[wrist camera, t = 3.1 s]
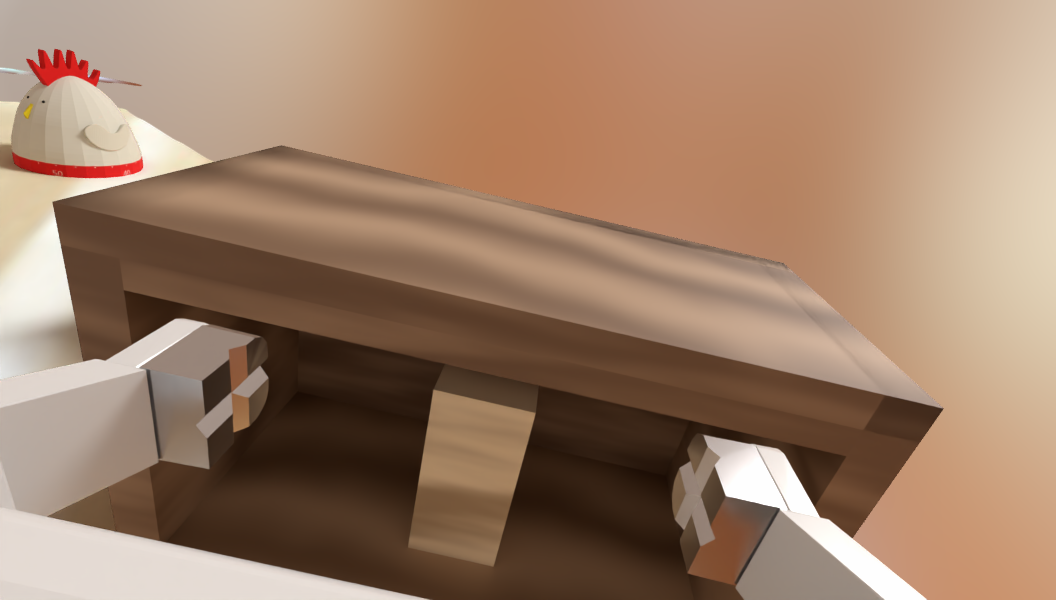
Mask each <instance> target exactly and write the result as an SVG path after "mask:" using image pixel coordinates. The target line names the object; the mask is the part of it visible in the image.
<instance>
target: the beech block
mask: <svg viewBox="0 0 1056 600" xmlns="http://www.w3.org/2000/svg"><path fill="white" fill-rule="evenodd" d="M538 389H539V385H534V384H530V383H526V382H521V381H517V380H513V379H508V378H504V377H500V376H495V375H491V374H486V373H482V372H478V371H473V370H469V369H465V368H460V367H456V366H452V365H447V364H445V365H444V367H443V370H442V372H441V374H440V376H439V379H438V381H437V383H436V385H435V388H434V390H433V396H432V402H431V408H430V415H429V421H428V427H427V433H426V439H425V445H424V451H423V458H422V464H421V470H420V476H419V482H418V488H417V494H416V501H415V507H414V513H413V519H412V525H411V531H410V537H409V544H408V548H412V549H417V550H421V551H426V552H430V553H435V554H439V555H444V556H448V557H452V558H457V559H461V560H466V561H470V562H475V563H479V564H484V565H488V566H492V567H494V563H495V560H496V556H497V552H498V549H499V545H500V541H501V538H502V534H503V530H504V527H505V523H506V520H507V516H508V512H509V509H510V505H511V501H512V498H513V494H514V490H515V487H516V483H517V480H518V476H519V472H520V469H521V465H522V461H523V458H524V454H525V450H526V447H527V443H528V440H529V436H530V432H531V429H532V425H533V421H534V418H535V414H536V407H537V398H538Z"/></svg>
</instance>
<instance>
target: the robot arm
mask: <svg viewBox="0 0 1056 600" xmlns="http://www.w3.org/2000/svg"><path fill="white" fill-rule="evenodd" d="M267 358H268V347H267V342H266V341H265V339H264V338H263V337H261V336H257V335H253V334H248V333H244V332H240V331H236V330H232V329H228V328H224V327H220V326H215V325H209V324H207V323H203V322H198V321H194V320H189V319H174V320H173V321H171V322H169V323H168V324H166V325H164V326H163V327H161V328H159V329H158V330H156V331H154V332H153V333H151V334H149V335H148V336H146V337H144V338H143V339H141V340H139V341H138V342H136V343H134V344H133V345H131V346H129V347H128V348H126V349H124V350H123V351H121V352H119V353H118V354H116V355H114V356H113V357H111V358H109V359H108V360H106V361H104V360H99V359H93V360H89V361H84V362H80V363H75V364H70V365H66V366H61V367H57V368H52V369H47V370H43V371H38V372H34V373H29V374H24V375H20V376H15V377H11V378H6V379H2V380H0V600H429V599H424V598H420V597H415V596H411V595H406V594H401V593H397V592H392V591H387V590H383V589H378V588H374V587H369V586H364V585H360V584H355V583H351V582H346V581H341V580H337V579H332V578H327V577H323V576H318V575H314V574H309V573H304V572H300V571H295V570H290V569H286V568H281V567H277V566H272V565H267V564H263V563H258V562H254V561H249V560H244V559H240V558H235V557H231V556H226V555H221V554H217V553H212V552H207V551H203V550H198V549H194V548H189V547H184V546H180V545H175V544H171V543H166V542H161V541H157V540H152V539H148V538H143V537H138V536H134V535H129V534H124V533H120V532H115V531H111V530H106V529H101V528H97V527H92V526H88V525H83V524H78V523H74V522H69V521H65V520H60V519H55V518H51V517H47V516H49V515H51V514H53V513H55V512H57V511H59V510H61V509H64V508H66V507H68V506H70V505H72V504H74V503H76V502H78V501H80V500H82V499H84V498H86V497H88V496H90V495H92V494H94V493H96V492H99V491H101V490H103V489H105V488H107V487H109V486H111V485H113V484H115V483H117V482H119V481H121V480H123V479H125V478H127V477H129V476H132V475H134V474H136V473H138V472H140V471H142V470H144V469H146V468H148V467H150V466H152V465H154V464H156V463H158V462H159V460H163V461H168V462H174V463H179V464H184V465H190V466H195V467H200V468H206V469H210V468H211V467H212V466H213V465H214V464H215V463H216V462H217V461H218V460H219V458H220V457H221V456H222V455H223V454H224V453H225V452H226V451H227V450H228V449H229V448H230V447H231V446H232V445H233V444H234V432H236V431H239V430H241V429H244V428H247V427H249V426H250V425H251V424H252V423H253V422H254V421H255V419H256V418H257V417H258V416H259V414H260V412H261V410H262V408H263V406H264V404H265V402H266V399H267V394H268V389H269V378H268V376H267V375H266V374H265V372H264V371H263V369H262V368H261V365H262V364H263V363H264V361H265V360H266V359H267ZM687 451H688V454H689V457H690V462H688V463H687V464H685V465H684V466H682V467H680V468H679V470H678V473H677V476H676V478H675V481H674V485H673V492H672V509H673V514H674V518H675V520H676V521H677V523H678V524H679V525H680V526H681V527H682V528H683V529H684V531H683V534H682V536H681V538H680V540H679V541H680V545H681V549H682V553H683V557H684V562H685V566H686V570H687V574H691V575H695V576H699V577H703V578H707V579H711V580H716V581H720V582H724V583H728V584H732V585H736V587H735V588H736V590H737V591H738V592H739V594H740V595H741V596H742V598H743V599H744V600H927V599H926V598H924V597H923V596H922V595H921V594H919V593H918V592H917V591H915V589H913V588H912V587H911V586H910V585H908V584H907V583H906V582H905V581H904V580H902V579H901V578H899V577H898V576H897V575H896V574H895V573H894V572H893V571H891V570H890V569H889V568H887V567H886V566H885V565H884V564H883V563H881V562H880V561H879V560H878V559H877V558H875V557H874V556H873V555H872V554H870V553H869V552H868V551H867V550H866V549H864V548H863V547H862V546H861V545H859V544H858V543H857V542H856V541H854V540H853V539H852V538H851V537H850V536H848V535H847V534H846V533H845V532H843V531H842V530H841V529H840V528H839V527H837V526H836V525H835V524H834V523H832V522H831V521H830V520H828V519H824V518H820V517H819V515H818V513H817V511H816V510H815V508H814V506H813V504H812V503H811V501H810V499H809V497H808V495H807V494H806V492H805V490H804V488H803V487H802V485H801V483H800V481H799V479H798V478H797V476H796V474H795V472H794V471H793V469H792V467H791V465H790V463H789V462H788V460H787V458H786V456H785V455H784V453H783V452H781V451H780V450H779V449H777V448H771V447H766V446H760V445H755V444H747V443H742V442H737V441H732V440H727V439H723V438H718V437H713V436H708V435H703V434H698V433H697V434H696V435H695V437H694V438H693V439H692V441H691V443H690V445H689V447H688V449H687Z"/></svg>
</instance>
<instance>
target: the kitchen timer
mask: <svg viewBox="0 0 1056 600" xmlns="http://www.w3.org/2000/svg"><path fill="white" fill-rule="evenodd" d="M38 56H39V63H40V67H39V66H38V65H37V64H36V63H35V62H34V61H33V60H30V59H26V60H27V62H28V64H29V66H30V67H31V69H32V70H33V72H34V73H35V75H36V76H37V77H38V79H39V80H40V82H39V83H38V84H36V85H35V86H34V87H32V88H31V89H30V90H29V91H28V93H27V94H26V95H25V96H24V98H23V99H22V101H21V103H20V104H19V106H18V109H17V112H16V115H15V120H14V125H13V130H12V136H11V147H12V154H13V159H14V164H16V165H17V166H19V167H20V168H23V169H26V170H29V171H32V172H36V173H41V174H46V175H53V176H62V177H76V178H109V177H119V176H126V175H131V174H134V173H137V172H139V171H141V170H142V168H143V160H142V154H141V151H140V147H139V145H138V142H137V140H136V138H135V136H134V134H133V132H132V130H131V128H130V126H129V124H128V122H127V120H126V119H125V117H124V116H123V114H122V113H121V111H120V110H119V109H118V107H117V106H116V105H115V104H114V103H113V102H112V101H111V100H110V98H109V97H107V96H106V95H105V94H104V93H103V92H102V91H101V90H99V89H98V88H96V85H97V83H98V80H99V76H100V71H98V70H95V69H94V70H93V72H92V74H91V75H90V77H89V78H88V74H87V73H88V61H85V60H81V61H80V63H79V65H78V64H77V60H76V57H75V54H74V52H73V51H70V50H67V52H66V64H65V61H64V58H63V54H62V52H61V50H58V49H55V50H54V61H53V62H54V63H53V65H52V63H51V61H50V59H49V57H48V55H47V53H46V52H45V51H44V50H40V49H38Z"/></svg>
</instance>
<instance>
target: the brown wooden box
mask: <svg viewBox="0 0 1056 600" xmlns="http://www.w3.org/2000/svg"><path fill="white" fill-rule="evenodd" d="M53 207H54V212H55V217H56V223H57V228H58V233H59V238H60V243H61V248H62V254H63V259H64V264H65V269H66V274H67V279H68V284H69V290H70V295H71V300H72V305H73V310H74V315H75V321H76V326H77V331H78V336H79V341H80V346H81V352H82V357H83V362H84V361H89V360H93V359H99V360H104V361H106V360H108V359H109V358H111V357H113V356H114V355H116V354H118V353H119V352H121V351H123V350H124V349H126V348H128V347H129V346H131V345H133V344H134V343H136V342H138V341H139V340H141V339H143V338H144V337H146V336H148V335H149V334H151V333H153V332H154V331H156V330H158V329H159V328H161V327H163V326H164V325H166V324H168V323H169V322H171V321H173V320H174V319H189V320H194V321H198V322H203V323H207V324H209V325H215V326H220V327H224V328H228V329H232V330H236V331H240V332H244V333H248V334H253V335H257V336H261V337H263V338H264V339H265V341H266V342H267V347H268V358H267V359H266V360H265V361H264V363H263V364H262V365H261V368H262V369H263V371H264V372H265V374H266V375H267V376H268V378H269V389H268V394H267V399H266V402H265V404H264V406H263V408H262V410H261V412H260V414H259V416H258V417H257V418H256V419H255V421H254V422H253V423H252V424H251V425H250V426H249V427H247V428H244V429H241V430H239V431H236V432H234V444H233V445H232V446H231V447H230V448H229V449H228V450H227V451H226V452H225V453H224V454H223V455H222V456H221V457H220V458H219V460H218V461H217V462H216V463H215V464H214V465H213V466H212V467H211V468H210V469H206V468H200V467H195V466H190V465H184V464H179V463H174V462H168V461H163V460H159V462H158V463H156V464H154V465H152V466H150V467H148V468H146V469H144V470H142V471H140V472H138V473H136V474H134V475H132V476H129V477H127V478H125V479H123V480H121V481H119V482H117V483H115V484H113V485H111V486H109V487H108V491H109V496H110V501H111V506H112V511H113V517H114V522H115V527H116V532H120V533H124V534H129V535H134V536H138V537H143V538H148V539H152V540H157V541H161V542H166V543H171V544H175V545H180V546H184V547H189V548H194V549H198V550H203V551H207V552H212V553H217V554H221V555H226V556H231V557H235V558H240V559H244V560H249V561H254V562H258V563H263V564H267V565H272V566H277V567H281V568H286V569H290V570H295V571H300V572H304V573H309V574H314V575H318V576H323V577H327V578H332V579H337V580H341V581H346V582H351V583H355V584H360V585H364V586H369V587H374V588H378V589H383V590H387V591H392V592H397V593H401V594H406V595H411V596H415V597H420V598H424V599H429V600H744V599H743V598H742V596H741V595H740V594H739V592H738V591H737V590H736V588H735V587H736V585H732V584H728V583H724V582H720V581H716V580H711V579H707V578H703V577H699V576H695V575H691V574H687V570H686V566H685V562H684V557H683V553H682V549H681V545H680V541H679V540H680V538H681V536H682V534H683V531H684V529H683V528H682V527H681V526H680V525H679V524H678V523H677V521H676V520H675V518H674V514H673V509H672V492H673V485H674V481H675V478H676V476H677V473H678V470H679V468H680V467H682V466H684V465H685V464H687V463H688V462H690V457H689V454H688V451H687V449H688V447H689V445H690V443H691V441H692V439H693V438H694V437H695V435H696V434H697V433H698V434H703V435H708V436H713V437H718V438H723V439H727V440H732V441H737V442H742V443H747V444H755V445H760V446H766V447H771V448H777V449H779V450H780V451H781V452H783V453H784V455H785V456H786V458H787V460H788V462H789V463H790V465H791V467H792V469H793V471H794V472H795V474H796V476H797V478H798V479H799V481H800V483H801V485H802V487H803V488H804V490H805V492H806V494H807V495H808V497H809V499H810V501H811V503H812V504H813V506H814V508H815V510H816V511H817V513H818V515H819V517H820V518H824V519H828V520H830V521H831V522H832V523H834V524H835V525H836V526H837V527H839V528H840V529H841V530H842V531H843V532H845V533H846V534H847V535H848V536H850V537H851V538H853V537H854V535H855V534H856V532H857V531H858V530H859V528H860V527H861V525H862V524H863V522H864V521H865V520H866V518H867V517H868V515H869V514H870V512H871V511H872V510H873V508H874V507H875V505H876V504H877V502H878V501H879V500H880V498H881V497H882V495H883V494H884V492H885V491H886V490H887V488H888V487H889V486H890V484H891V483H892V481H893V480H894V478H895V477H896V476H897V474H898V473H899V471H900V470H901V468H902V467H903V466H904V464H905V463H906V461H907V460H908V459H909V457H910V456H911V454H912V453H913V451H914V450H915V448H916V447H917V446H918V444H919V443H920V442H921V440H922V439H923V437H924V436H925V434H926V433H927V432H928V430H929V429H930V427H931V426H932V424H933V423H934V422H935V420H936V419H937V417H938V416H939V415H940V413H941V412H942V410H943V408H942V407H941V406H940V405H939V404H938V403H937V402H936V401H935V400H934V399H933V398H931V397H930V396H929V395H928V394H927V393H926V392H925V391H924V390H923V389H922V388H921V387H919V386H918V385H917V384H916V383H915V382H914V381H913V380H912V379H911V378H909V377H908V376H907V375H906V374H905V373H904V372H903V371H902V370H901V369H900V368H898V367H897V366H896V365H895V364H894V363H893V362H892V361H891V360H890V359H889V358H887V357H886V356H885V355H884V354H883V353H882V352H881V351H880V350H879V349H877V348H876V347H875V346H874V345H873V344H872V343H871V342H870V341H869V340H868V339H867V338H865V337H864V336H863V335H862V334H861V333H860V332H859V331H858V330H857V329H855V328H854V327H853V326H852V325H851V324H850V323H849V322H848V321H847V320H846V319H844V318H843V317H842V316H841V315H840V314H839V313H838V312H837V311H836V310H835V309H833V308H832V307H831V306H830V305H829V304H828V303H827V302H826V301H824V300H823V299H822V298H821V297H820V296H819V295H818V294H817V293H816V292H814V290H812V289H811V288H810V287H809V286H808V285H807V284H806V283H805V282H804V281H803V280H801V279H800V278H799V277H798V276H797V275H796V274H795V273H794V272H793V271H792V270H790V269H789V268H788V267H787V266H786V265H785V264H784V263H780V262H776V261H772V260H767V259H763V258H759V257H755V256H750V255H746V254H742V253H738V252H733V251H729V250H725V249H720V248H716V247H712V246H708V245H703V244H699V243H695V242H690V241H686V240H682V239H678V238H674V237H669V236H665V235H661V234H657V233H652V232H648V231H644V230H639V229H635V228H631V227H627V226H623V225H618V224H614V223H609V222H606V221H601V220H597V219H592V218H588V217H584V216H580V215H576V214H571V213H567V212H562V211H559V210H554V209H550V208H545V207H541V206H537V205H533V204H528V203H524V202H520V201H516V200H512V199H507V198H503V197H498V196H495V195H490V194H486V193H482V192H477V191H473V190H469V189H465V188H460V187H456V186H452V185H448V184H444V183H439V182H435V181H431V180H427V179H422V178H418V177H414V176H409V175H405V174H401V173H396V172H392V171H388V170H384V169H380V168H375V167H371V166H367V165H362V164H358V163H354V162H350V161H346V160H341V159H337V158H333V157H329V156H324V155H320V154H316V153H312V152H307V151H303V150H298V149H294V148H290V147H286V146H277V147H273V148H269V149H265V150H261V151H257V152H253V153H249V154H245V155H241V156H237V157H233V158H229V159H224V160H220V161H217V162H212V163H208V164H204V165H200V166H196V167H192V168H188V169H184V170H180V171H176V172H172V173H168V174H164V175H160V176H155V177H151V178H147V179H143V180H139V181H135V182H131V183H127V184H123V185H119V186H115V187H111V188H107V189H103V190H99V191H95V192H91V193H87V194H82V195H78V196H74V197H70V198H66V199H62V200H58V201H54V202H53ZM445 364H447V365H452V366H456V367H460V368H465V369H469V370H473V371H478V372H482V373H486V374H491V375H495V376H500V377H504V378H508V379H513V380H517V381H521V382H526V383H530V384H534V385H539V389H538V398H537V407H536V414H535V418H534V421H533V425H532V429H531V432H530V436H529V440H528V443H527V447H526V450H525V454H524V458H523V461H522V465H521V469H520V472H519V476H518V480H517V483H516V487H515V490H514V494H513V498H512V501H511V505H510V509H509V512H508V516H507V520H506V523H505V527H504V530H503V534H502V538H501V541H500V545H499V549H498V552H497V556H496V560H495V563H494V567H492V566H488V565H484V564H479V563H475V562H470V561H466V560H461V559H457V558H452V557H448V556H444V555H439V554H435V553H430V552H426V551H421V550H417V549H412V548H408V544H409V537H410V531H411V525H412V519H413V513H414V507H415V501H416V494H417V488H418V482H419V476H420V470H421V464H422V458H423V451H424V445H425V439H426V433H427V427H428V421H429V415H430V408H431V402H432V396H433V390H434V388H435V385H436V383H437V381H438V379H439V376H440V374H441V372H442V370H443V367H444V365H445Z"/></svg>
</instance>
